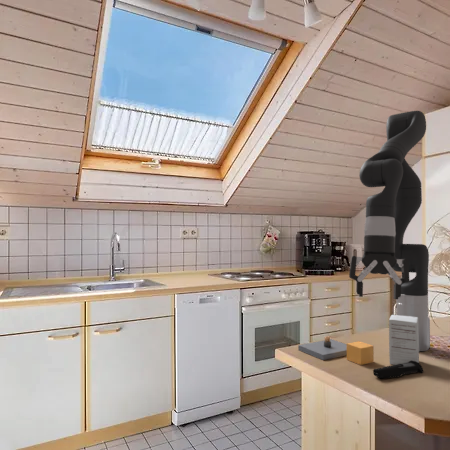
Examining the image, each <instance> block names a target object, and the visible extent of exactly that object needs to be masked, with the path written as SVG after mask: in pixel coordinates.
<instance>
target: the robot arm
mask: <svg viewBox="0 0 450 450" xmlns="http://www.w3.org/2000/svg"><path fill="white" fill-rule="evenodd" d="M385 126H386V127H385V129H386V141H385V142H384V143H383V144H382V146H381V147H380V149H379V150H378V152H376V153H374V154H373V155H372V156H370V157H369V158H367V160H365V161H364V162H363V164H362V165H361V167H360V169H359V181H360V182H361V184H362V185H363V186H365V187H367V188H380V187H384V188H383V190H381V192H378V193H377V194H376V193H375V194H373V195H370V196H368V197H367V198H366V202H365V222H364V230H363V236H364V237H363V255H362V257H360V256H356V255H352V256H351V257H350V264H349V273H348V277H349V279H350V280H353V281H355V282H356V289H355V292H356V295H358V297H359V298H361V297H362V298H363V295H364V282H363V280H364V279H365V278H366V277H367V276H368V275H369V274H373V275H377V274H380V275H388V276H389V278H391V279H392V281H393V282H394V284H393V299H394V300H396V310H395V311H396V315H400V316H411V317H418V333H419V352H425V351H429V348H431V318H430V317H429V266H430V264H429V262H430V254H429V253H430V252H429V249H428V247H427V245H425V244H423V243H404V238H405V237H404V236H405V233H406V231H407V228H408V226H409V224H410V223H411V221H412V219H413V218H414V217H415V215H416V214H417V213H418V211H419V210H420V208H421V205H422V203H423V202H422V201H423V198H422V197H423V196H422V193H423V192H422V181H421V180H420V178H419V176H418V175H417V173H416V172H415V170H414V169H413V167H411V166H410V164H409V163H408V161H407V160H406V159H405V158H406V156H407V154H408V153H409V152H410V151H411V150H412V149H413V148H415V146H416V145H417V144H418V143H419V142H420V141H421V140H423V138H424V136H425V134H426V132H427V120H426V116H425V113H423V111H421V110H411V111H405V112H401V113H394V114H392V115H390V116H388V118H387V120H386V125H385ZM360 262H361V263H362V264H363V265H364V266H365V267H364V268H363V269H362V270H361V272H360V273H359V274H358V275H356V270H357V265H360ZM397 272H398V273H401V278H400V277H399V276H398V274H397ZM410 273H415V277H414V278H412V279H410Z"/></svg>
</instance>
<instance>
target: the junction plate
mask: <svg viewBox="0 0 450 450" xmlns="http://www.w3.org/2000/svg"><path fill="white" fill-rule="evenodd" d="M297 347H298V349H297V350H298V351H300V352H302V353H305V354H307V355H310V356H312V357H315V358H317V359H320V360H321V361H325V360H330V359H335V358H340V357H346V356H347V343H344V342H341V341H338V340H335V339H333V338H331V336H328V335H327V336H324V340H319V341H313V342H308V343H303V344H299V345H298V346H297Z"/></svg>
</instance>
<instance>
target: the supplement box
mask: <svg viewBox="0 0 450 450" xmlns="http://www.w3.org/2000/svg"><path fill="white" fill-rule="evenodd" d="M388 342H389V343H388V346H389V348H388V349H389V352H388V353H389V355H388V356H389V357H388V359H389V364H390V365H397V364H403V363H408V362H409V361H416V362H418V363H419V364H420V351H419V333H418V317H411V316H400V315H397V314H391V315H390V317H389V319H388Z"/></svg>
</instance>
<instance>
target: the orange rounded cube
mask: <svg viewBox="0 0 450 450" xmlns="http://www.w3.org/2000/svg"><path fill="white" fill-rule="evenodd" d="M346 344H347V355H346V360H347V361H349V362H352V363H354V364H357V365H359V366H363V365H366V364H372V363H374V362H375V361H374V359H375V357H374V353H375V352H374V351H375V350H374V347H375V346H374V345H372V344H369V343H366V342H363V341H354V342H348V343H346Z"/></svg>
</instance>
